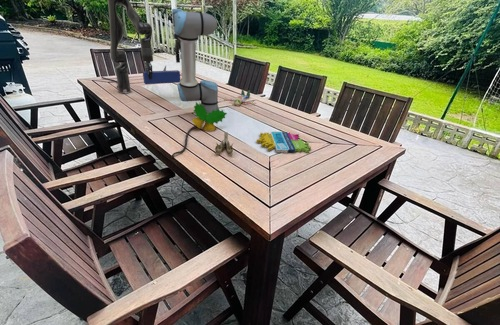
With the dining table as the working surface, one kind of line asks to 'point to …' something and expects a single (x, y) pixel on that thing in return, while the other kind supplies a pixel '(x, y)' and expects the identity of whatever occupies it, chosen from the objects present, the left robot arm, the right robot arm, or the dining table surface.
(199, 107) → the ornament
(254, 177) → the dining table surface
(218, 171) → the dining table surface
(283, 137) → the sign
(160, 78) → the bar
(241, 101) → the toy
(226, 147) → the jawbone
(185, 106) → the dining table surface
